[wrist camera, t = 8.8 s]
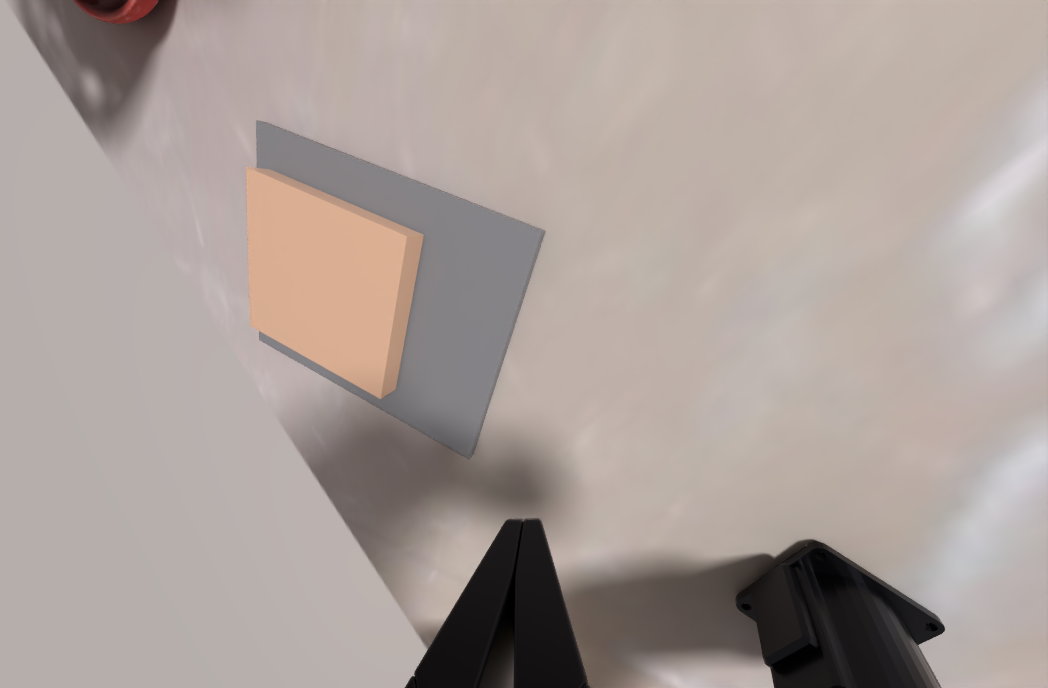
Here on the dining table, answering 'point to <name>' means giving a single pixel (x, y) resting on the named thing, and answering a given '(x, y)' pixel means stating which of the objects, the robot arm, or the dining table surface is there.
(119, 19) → the plant pot
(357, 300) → the tile
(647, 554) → the dining table surface
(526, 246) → the mat
